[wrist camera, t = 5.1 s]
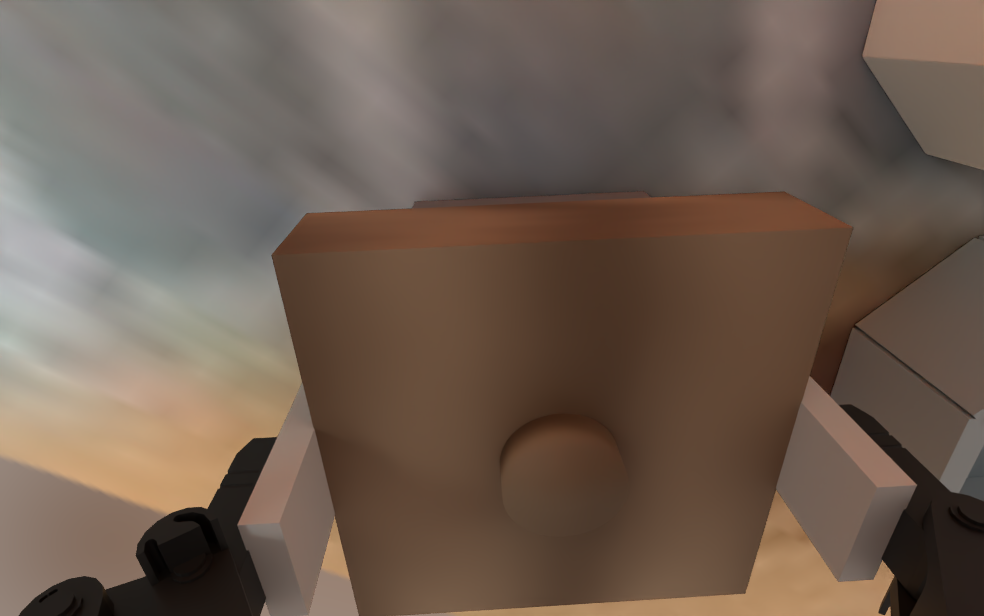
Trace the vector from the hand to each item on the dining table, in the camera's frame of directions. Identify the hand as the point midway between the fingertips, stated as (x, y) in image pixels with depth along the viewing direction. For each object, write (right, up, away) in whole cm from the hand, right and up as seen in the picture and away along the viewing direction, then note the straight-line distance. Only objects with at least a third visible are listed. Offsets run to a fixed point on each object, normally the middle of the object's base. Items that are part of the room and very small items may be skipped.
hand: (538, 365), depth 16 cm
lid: (0, -1, -1) cm, 1 cm away
